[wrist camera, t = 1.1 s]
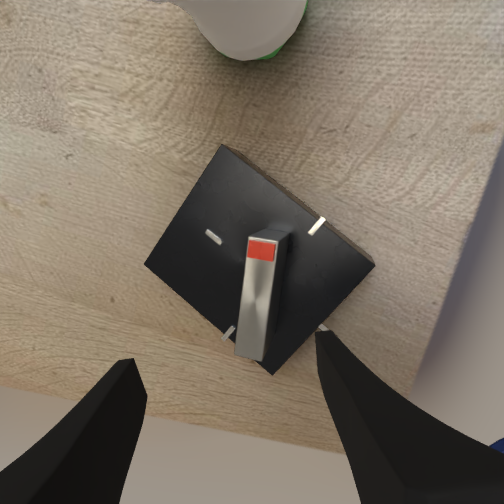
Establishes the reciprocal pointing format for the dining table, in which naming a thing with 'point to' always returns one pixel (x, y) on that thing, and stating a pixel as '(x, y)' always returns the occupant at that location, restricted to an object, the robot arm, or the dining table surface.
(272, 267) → the red-topped metal block
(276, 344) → the switch base
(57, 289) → the dining table surface
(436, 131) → the dining table surface
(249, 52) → the cup
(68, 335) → the dining table surface
